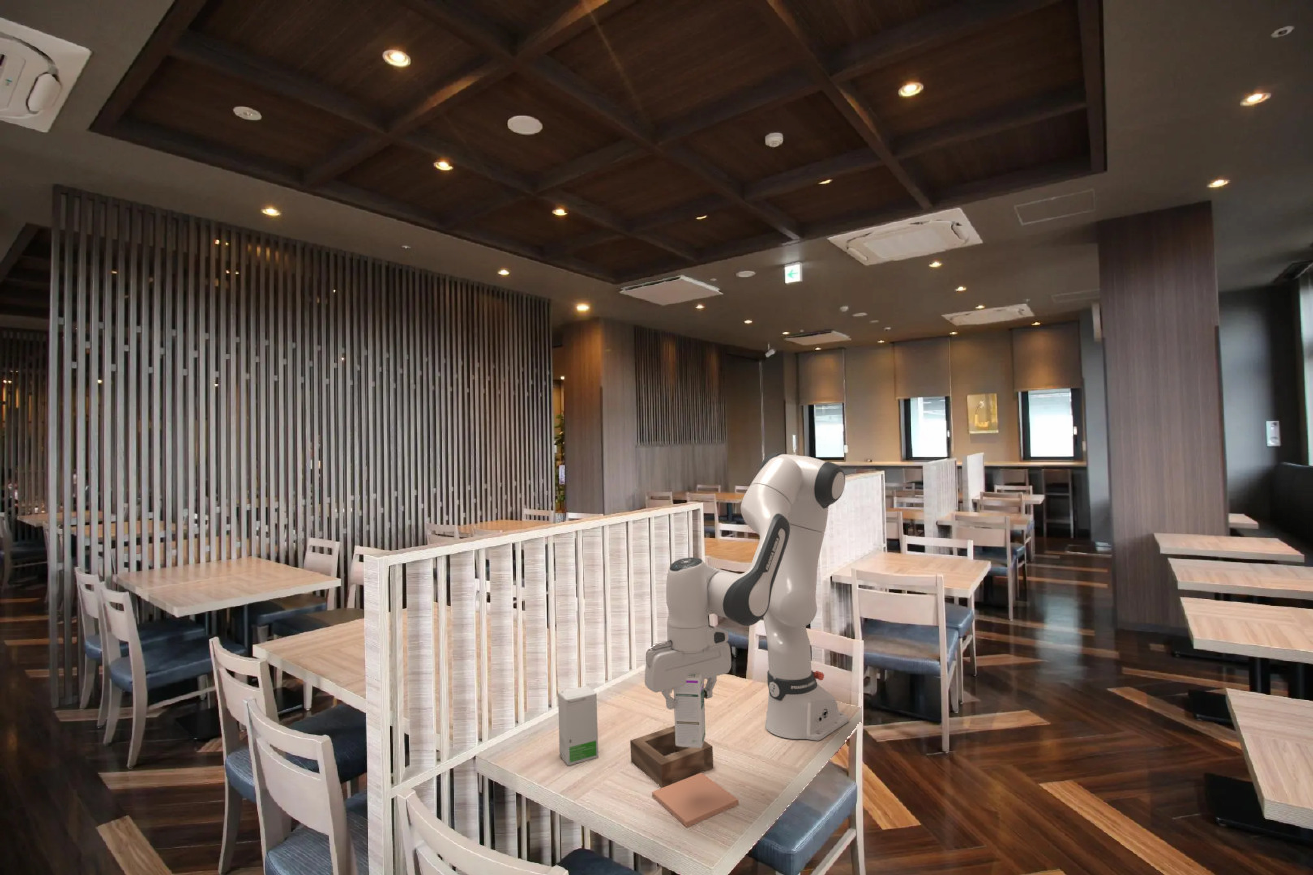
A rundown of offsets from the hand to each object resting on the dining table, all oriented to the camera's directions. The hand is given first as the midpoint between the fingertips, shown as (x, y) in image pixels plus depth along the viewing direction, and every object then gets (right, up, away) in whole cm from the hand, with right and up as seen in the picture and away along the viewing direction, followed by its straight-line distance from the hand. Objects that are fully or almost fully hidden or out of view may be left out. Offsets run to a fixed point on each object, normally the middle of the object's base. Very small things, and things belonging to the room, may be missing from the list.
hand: (689, 702), depth 127 cm
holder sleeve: (-3, -21, +14) cm, 26 cm away
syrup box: (0, -8, 0) cm, 8 cm away
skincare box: (-26, -22, +21) cm, 40 cm away
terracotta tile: (+1, -20, 0) cm, 20 cm away
